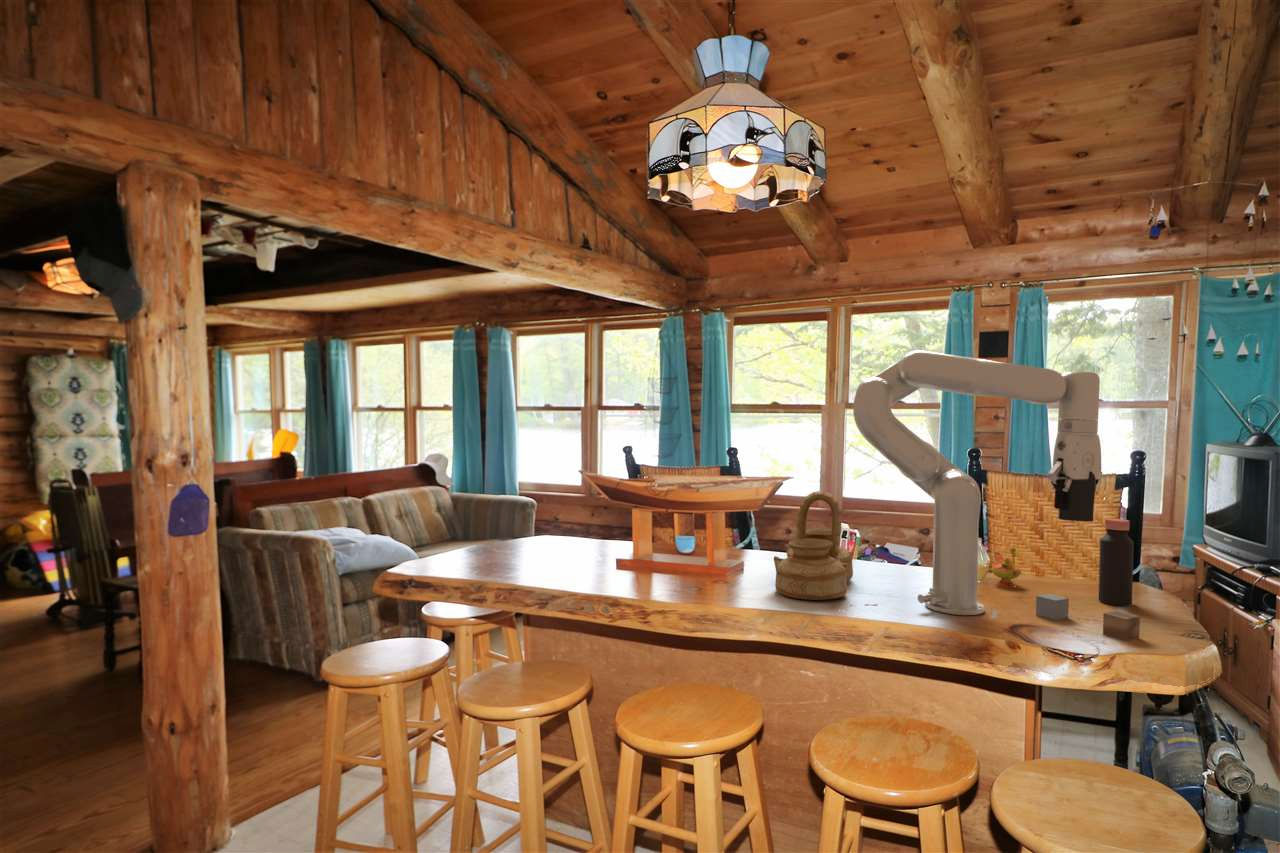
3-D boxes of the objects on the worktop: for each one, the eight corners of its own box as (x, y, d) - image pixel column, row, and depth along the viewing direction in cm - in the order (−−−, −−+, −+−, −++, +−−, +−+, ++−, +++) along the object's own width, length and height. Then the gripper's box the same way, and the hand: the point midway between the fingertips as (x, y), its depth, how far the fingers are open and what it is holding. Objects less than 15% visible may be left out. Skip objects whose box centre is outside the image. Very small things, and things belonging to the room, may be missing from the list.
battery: (1090, 520, 159) (1092, 469, 159) (1094, 522, 156) (1096, 470, 156) (1054, 518, 162) (1056, 467, 162) (1058, 520, 158) (1060, 468, 158)
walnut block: (1125, 641, 144) (1125, 619, 144) (1102, 634, 148) (1103, 613, 148) (1139, 638, 146) (1139, 616, 146) (1116, 632, 150) (1117, 610, 150)
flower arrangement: (1008, 576, 199) (1009, 536, 199) (1028, 592, 181) (1029, 549, 181) (981, 575, 201) (982, 535, 200) (999, 591, 183) (1000, 548, 183)
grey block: (1055, 620, 158) (1055, 600, 158) (1035, 615, 162) (1036, 595, 162) (1068, 618, 160) (1068, 598, 160) (1049, 613, 164) (1049, 593, 164)
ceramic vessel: (787, 570, 206) (788, 483, 205) (854, 575, 200) (856, 486, 199) (767, 599, 174) (768, 496, 173) (846, 607, 167) (848, 500, 167)
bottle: (1115, 598, 177) (1117, 517, 176) (1139, 606, 170) (1141, 521, 169) (1091, 599, 175) (1093, 518, 175) (1114, 607, 169) (1116, 522, 168)
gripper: (1066, 428, 151) (1062, 512, 152) (1120, 429, 158) (1116, 509, 159) (1034, 427, 158) (1030, 507, 159) (1087, 427, 165) (1084, 505, 166)
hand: (1073, 507), depth 159 cm, fingers closed on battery, 6 cm apart
